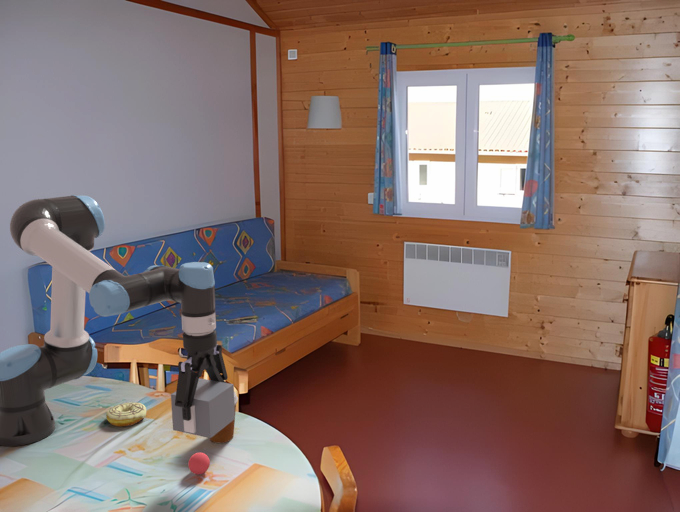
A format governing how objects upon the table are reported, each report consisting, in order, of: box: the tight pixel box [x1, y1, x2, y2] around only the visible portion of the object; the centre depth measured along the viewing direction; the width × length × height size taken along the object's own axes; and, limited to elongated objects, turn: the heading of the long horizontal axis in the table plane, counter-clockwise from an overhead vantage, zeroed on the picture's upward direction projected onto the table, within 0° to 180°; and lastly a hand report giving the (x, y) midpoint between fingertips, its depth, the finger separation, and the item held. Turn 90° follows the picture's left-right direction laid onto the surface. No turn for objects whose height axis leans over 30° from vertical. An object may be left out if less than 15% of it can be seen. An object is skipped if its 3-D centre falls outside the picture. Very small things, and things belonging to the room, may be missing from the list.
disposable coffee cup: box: [209, 391, 239, 444], centre depth 165 cm, size 10×10×12 cm
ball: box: [187, 452, 211, 476], centre depth 149 cm, size 5×5×5 cm
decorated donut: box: [105, 401, 147, 428], centre depth 177 cm, size 10×11×4 cm
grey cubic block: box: [170, 377, 236, 439], centre depth 145 cm, size 10×10×9 cm
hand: (204, 421), depth 146 cm, fingers closed on grey cubic block, 10 cm apart
